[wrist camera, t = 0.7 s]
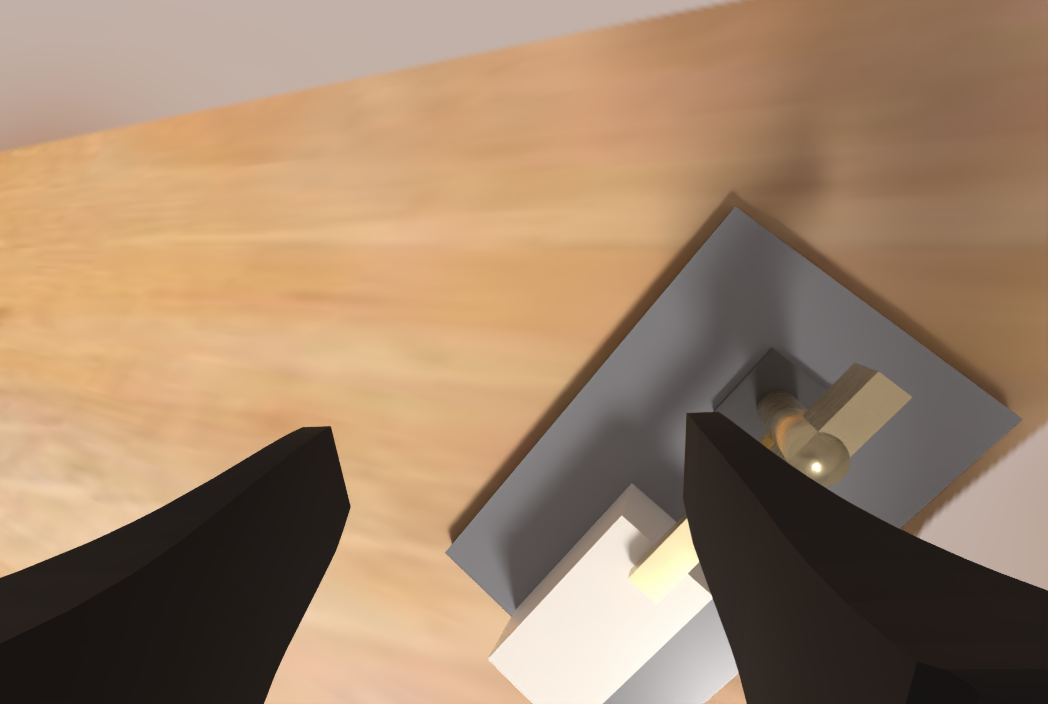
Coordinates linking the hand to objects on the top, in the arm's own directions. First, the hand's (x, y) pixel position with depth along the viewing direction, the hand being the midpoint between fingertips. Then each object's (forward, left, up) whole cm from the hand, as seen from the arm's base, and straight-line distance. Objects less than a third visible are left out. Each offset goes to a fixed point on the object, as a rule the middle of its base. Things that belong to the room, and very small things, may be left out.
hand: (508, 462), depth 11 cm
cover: (-7, +9, -18) cm, 21 cm away
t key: (-7, 0, -17) cm, 18 cm away
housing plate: (-7, +3, -19) cm, 20 cm away
